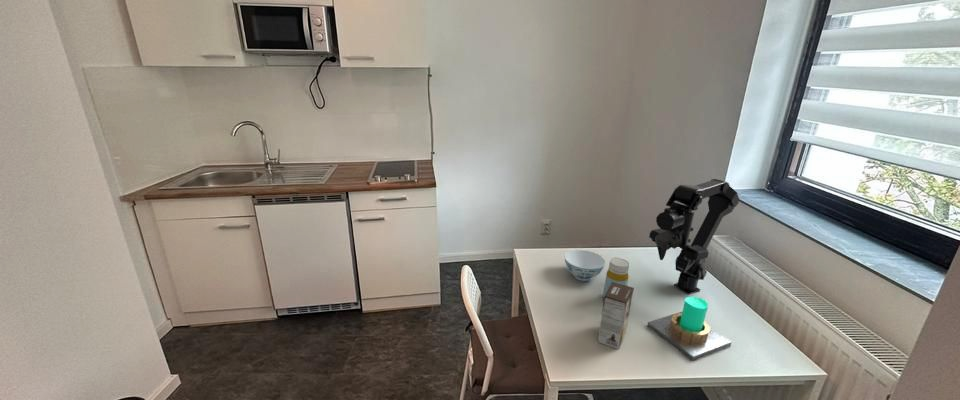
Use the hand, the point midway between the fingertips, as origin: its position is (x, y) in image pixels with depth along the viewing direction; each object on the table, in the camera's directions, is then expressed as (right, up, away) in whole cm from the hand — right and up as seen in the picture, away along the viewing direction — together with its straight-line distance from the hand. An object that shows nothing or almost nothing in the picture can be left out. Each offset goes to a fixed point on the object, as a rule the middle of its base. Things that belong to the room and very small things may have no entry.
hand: (672, 266), depth 128 cm
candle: (-2, -17, -15) cm, 23 cm away
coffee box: (-26, -19, -16) cm, 36 cm away
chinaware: (-26, -7, +17) cm, 32 cm away
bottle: (-19, -13, +3) cm, 23 cm away
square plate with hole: (-3, -19, -14) cm, 24 cm away
